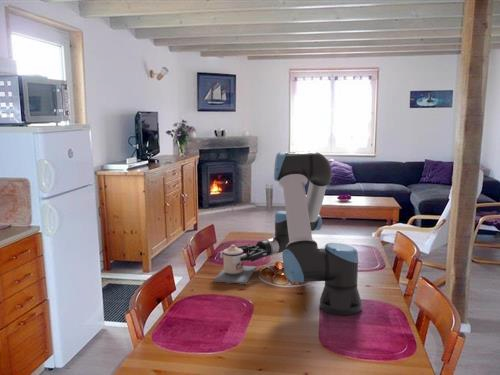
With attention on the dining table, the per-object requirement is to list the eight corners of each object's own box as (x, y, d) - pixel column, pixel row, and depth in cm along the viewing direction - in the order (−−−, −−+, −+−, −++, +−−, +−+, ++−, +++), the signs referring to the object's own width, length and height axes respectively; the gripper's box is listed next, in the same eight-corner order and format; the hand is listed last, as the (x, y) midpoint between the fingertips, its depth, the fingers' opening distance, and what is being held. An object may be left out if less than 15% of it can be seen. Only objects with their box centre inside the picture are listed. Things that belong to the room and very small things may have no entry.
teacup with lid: (239, 275, 188) (239, 248, 186) (220, 273, 191) (219, 247, 189) (248, 266, 199) (248, 241, 198) (230, 264, 202) (229, 239, 200)
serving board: (246, 284, 184) (246, 282, 184) (214, 282, 187) (214, 280, 187) (255, 268, 203) (255, 266, 203) (226, 266, 206) (226, 264, 206)
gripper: (282, 261, 196) (241, 272, 183) (252, 250, 213) (213, 259, 200) (282, 245, 195) (241, 255, 182) (252, 235, 212) (213, 243, 199)
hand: (227, 257), depth 191 cm, fingers closed on teacup with lid, 9 cm apart
